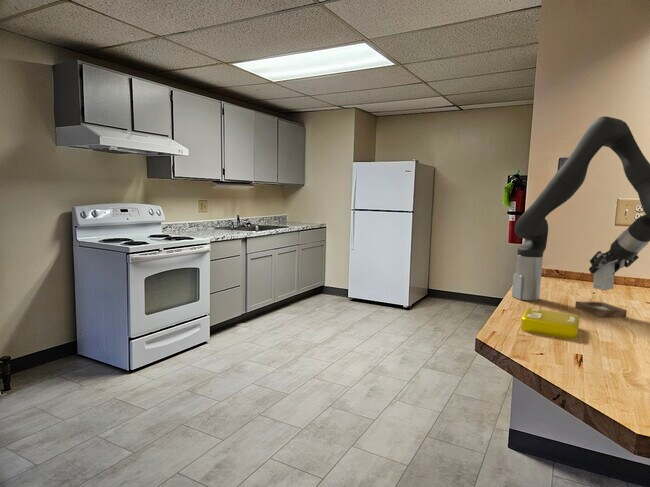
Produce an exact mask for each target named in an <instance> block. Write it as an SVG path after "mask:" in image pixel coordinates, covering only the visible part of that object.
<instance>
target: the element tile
mask: <svg viewBox="0 0 650 487" xmlns="http://www.w3.org/2000/svg"><path fill="white" fill-rule="evenodd" d="M579 326H580V316H578V315H577V314H574V313H573V314H571V313H567V312H561V311H560V312H559V311H551V310H546V309H539V308H531V307H530V308H527V309H526V310H525V311H524V313H523V315H522V316H521V321H520V330H521V331H523V332H527V333H531V334H537V335H542V336H543V335H544V336H548V335H549V336H548V337H554V336H555V337H554V338H560V339H565V338H566V339H567V340H573V339H574V340H577V339H578V335H579Z"/></svg>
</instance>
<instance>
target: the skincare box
mask: <svg viewBox="0 0 650 487" xmlns="http://www.w3.org/2000/svg"><path fill="white" fill-rule="evenodd" d="M604 261H605V263H606V262H607V261H606V259H605V258H604ZM601 263H602V262H600V263H599V264H601ZM614 272H615V263H611V264H609V265H607V266H602V267H600V268H599V269H598V270H597V271H596V272H595V273H594V274H593V282H592V283H593V284H592V288H593V289H595V290H601V291H607V290H608V291H609V290H614V284H615V273H616V272H615V273H614Z"/></svg>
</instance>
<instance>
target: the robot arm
mask: <svg viewBox="0 0 650 487" xmlns="http://www.w3.org/2000/svg"><path fill="white" fill-rule="evenodd" d="M603 147H606V148H610V149H611V151H612V152H614V153H615V154H616V156H618V158H619V160H620V161H621V164H622V167H623V172H624V174H625V177H626V179H627V180H628V182H629V183H630V185H631V186H632V187H633V189H634V190H635V192H636V193H637V195H638V198H639V202H640V204H641V207H642V210H643V212H644V215H641V216H639V217H637V218H636V219H635V220H634V221H633V222H632V223H631V224H630V225H629V227H627V228H626V229H625V230H624V231H623V232H622V233H621V234H619V235H618V237H616V238H615V239H614V240H613V242H612V243H611V244H610V248H609V250H607V251H606V252H602V251H600V250H598V251H597V252H596V253H595V254H594V255H593V256H592V257H591V259H589V263H590V264H591V266H590V267H589V268H588V271H589V272H590V275H594V273H595V272H596V271H597V270H598V269H599V268H600V267H602V266H607V265H609V264H611V263H615V272H614V274H616V273H617V272H618V271H619V270H620V269H623V268H624V267H625V268H628V267H630V266H631V265H633V263H634V262H636V261H637V260H638V259H639V258H640V257H639V255H638V254H639V253H640V252H641V251H642V250H644V248H646V246H648V244H649V243H650V161H648V159H647V158H646V157H645V155H644V153H643V151H642V150H641V148H640V147H639V145H638V143H637V141H636V138H635V137H634V135H633V132H632V131H631V128H630V126H629V125H628V124H627V123H626V121H624V120H622V119H619V118H617V117H616V118H615V117H611V116H600V117H598V118H596V119H594V120H593V122H591V124H590V125H589V126H588V127H587V129H586V131H585V132H584V133H583V135H582V137H581V139H580V140H579V142H578V143H577V144H576V146H575V148H574V149H573V151H572V152H571V153H570V155H569V157H568V158H567V159H566V160H565V161H564V163H563V165H562V166H561V167H560V168H559V169H558V170H557V171H556V173H555V174H554V175H553V177H552V178H551V179H550V181H549V182H548V184H547V185H546V186H545V188H544V189H543V190H542V191H541V193H540V194H539V195H538V197H537V198H536V199H535V200H534V202H532V204H531V205H530V206H528V208H527V209H526V210H525V211H524V212H523V213H522V215H520V217H518V218H517V220H516V223H515V225H514V232H515V233H514V234H515V235H516V236H517V237H518V238H520V239H524V242H523V244H522V245H520V246H519V247H517V255H516V265H515V266H516V267H515V272H514V273H513V275H512V276H513V277H512V289H511V291H512V292H511V296H512V297H513V298H514V299H517V300H519V301H531V302H533V301H539V300H540V298H541V297H540V295H541V285H542V282H541V281H542V274H543V273H542V271H543V261H544V260H543V259H544V253H545V251H546V249H547V244H548V238H549V237H548V236H549V223H548V220H547V219H546V218H547V216H548V215H550V214H551V213H552V212H553V211H555V210H556V209H557V208H559V207H560V206H562V205H563V204H565V203H566V202H567V201H568V200H570V199H571V198H572V197H573V196H574V195H575V193H577V191H578V190H579V189H580V188H581V186H582V185H583V184H584V182H585V180H586V177H587V173H588V168H589V164H590V163H591V161H592V160H593V158H594V157H595V155H596V154H597V153H598V152H599V150H601V149H602V148H603ZM604 258H605V259H606V261H607V262H606V263H605V261H604ZM600 262H602V263H601V264H599V263H600Z"/></svg>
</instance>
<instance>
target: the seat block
mask: <svg viewBox="0 0 650 487" xmlns="http://www.w3.org/2000/svg"><path fill="white" fill-rule="evenodd" d="M574 304H575V306H574V308H575V309H576V310H579V311H580V312H583V313H586V314H589V315H592V316H594V317H597V318H601V319H602V318H603V319H604V318H607V319H608V318H613V319H614V318H627V311H628V310H627V309H624V308H620V307H618V306H616V305H612V304H609V303H607V302H603V301H575V303H574Z"/></svg>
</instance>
